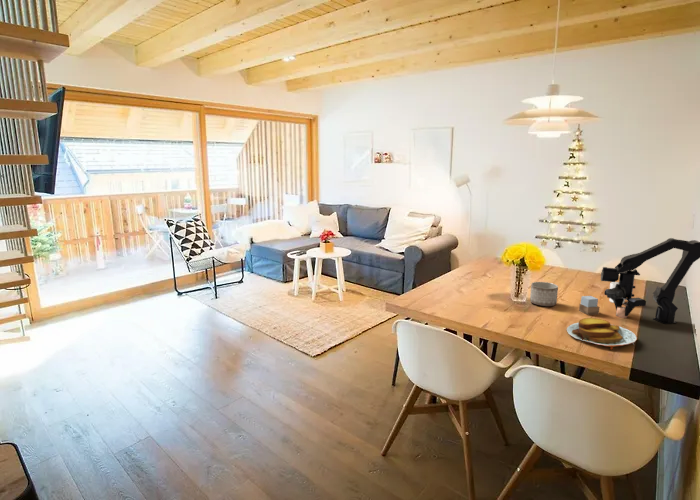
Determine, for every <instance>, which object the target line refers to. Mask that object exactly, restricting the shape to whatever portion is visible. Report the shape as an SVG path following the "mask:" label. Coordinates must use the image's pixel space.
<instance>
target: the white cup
mask: <svg viewBox="0 0 700 500" xmlns="http://www.w3.org/2000/svg"><path fill="white" fill-rule="evenodd" d="M616 284H619V281H615V282H609V289H612V288H615V287H616ZM608 301H609V302H610V303H611V304H612V303H613V304H614V301H613V300H612V299H611V298H608ZM625 301H626V300H625V299H624V301H623V304H624V303H626V302H625Z"/></svg>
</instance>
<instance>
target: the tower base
mask: <svg viewBox="0 0 700 500" xmlns="http://www.w3.org/2000/svg"><path fill="white" fill-rule="evenodd" d="M578 311H579V312H580V313H581V314H584V315H587V316H598V315H599V313H600V306H598V305H597V307H586V306H584V305H582V304H581V303H579V306H578Z"/></svg>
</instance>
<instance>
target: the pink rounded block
mask: <svg viewBox="0 0 700 500" xmlns="http://www.w3.org/2000/svg"><path fill="white" fill-rule="evenodd" d="M615 316H616V317H619V318H621V319H627V318H628V317H629V315H628V316H625V307H624V306H622V307H617V311H616V313H615Z"/></svg>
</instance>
